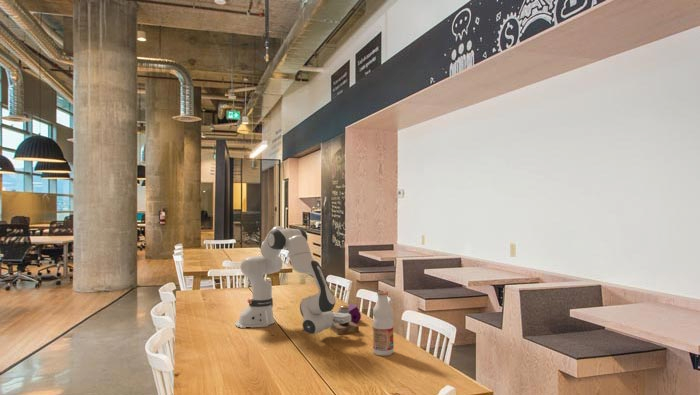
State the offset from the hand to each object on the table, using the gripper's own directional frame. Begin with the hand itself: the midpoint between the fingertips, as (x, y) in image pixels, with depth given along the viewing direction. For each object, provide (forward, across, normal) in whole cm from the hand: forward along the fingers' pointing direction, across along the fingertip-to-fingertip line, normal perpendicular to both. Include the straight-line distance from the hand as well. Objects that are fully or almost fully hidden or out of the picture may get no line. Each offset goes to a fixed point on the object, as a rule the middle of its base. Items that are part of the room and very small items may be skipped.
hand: (339, 313), depth 242 cm
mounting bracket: (+20, +9, +11) cm, 24 cm away
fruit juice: (-19, -34, +11) cm, 41 cm away
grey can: (+5, 0, +7) cm, 9 cm away
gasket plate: (-4, +16, +11) cm, 20 cm away
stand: (+5, 0, +10) cm, 11 cm away
